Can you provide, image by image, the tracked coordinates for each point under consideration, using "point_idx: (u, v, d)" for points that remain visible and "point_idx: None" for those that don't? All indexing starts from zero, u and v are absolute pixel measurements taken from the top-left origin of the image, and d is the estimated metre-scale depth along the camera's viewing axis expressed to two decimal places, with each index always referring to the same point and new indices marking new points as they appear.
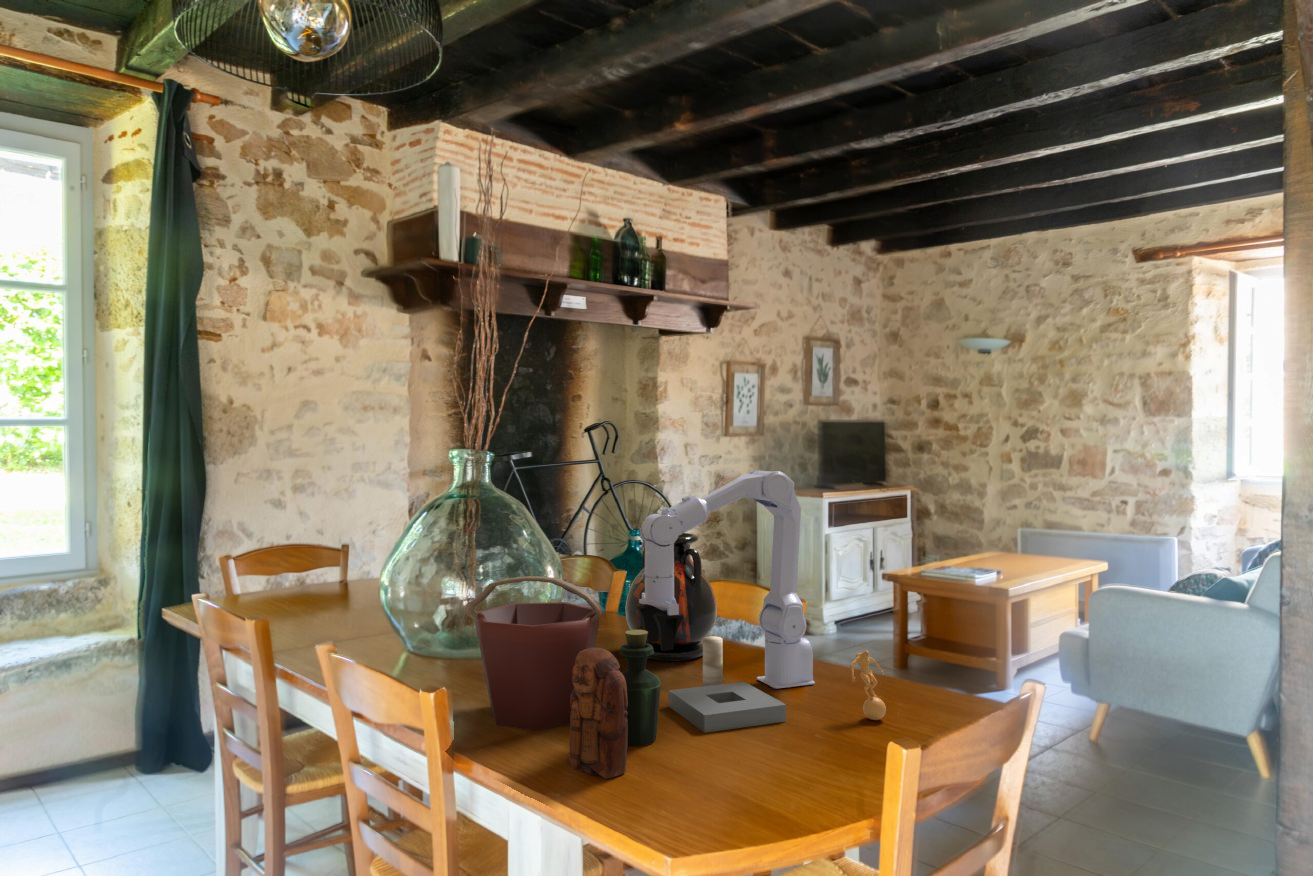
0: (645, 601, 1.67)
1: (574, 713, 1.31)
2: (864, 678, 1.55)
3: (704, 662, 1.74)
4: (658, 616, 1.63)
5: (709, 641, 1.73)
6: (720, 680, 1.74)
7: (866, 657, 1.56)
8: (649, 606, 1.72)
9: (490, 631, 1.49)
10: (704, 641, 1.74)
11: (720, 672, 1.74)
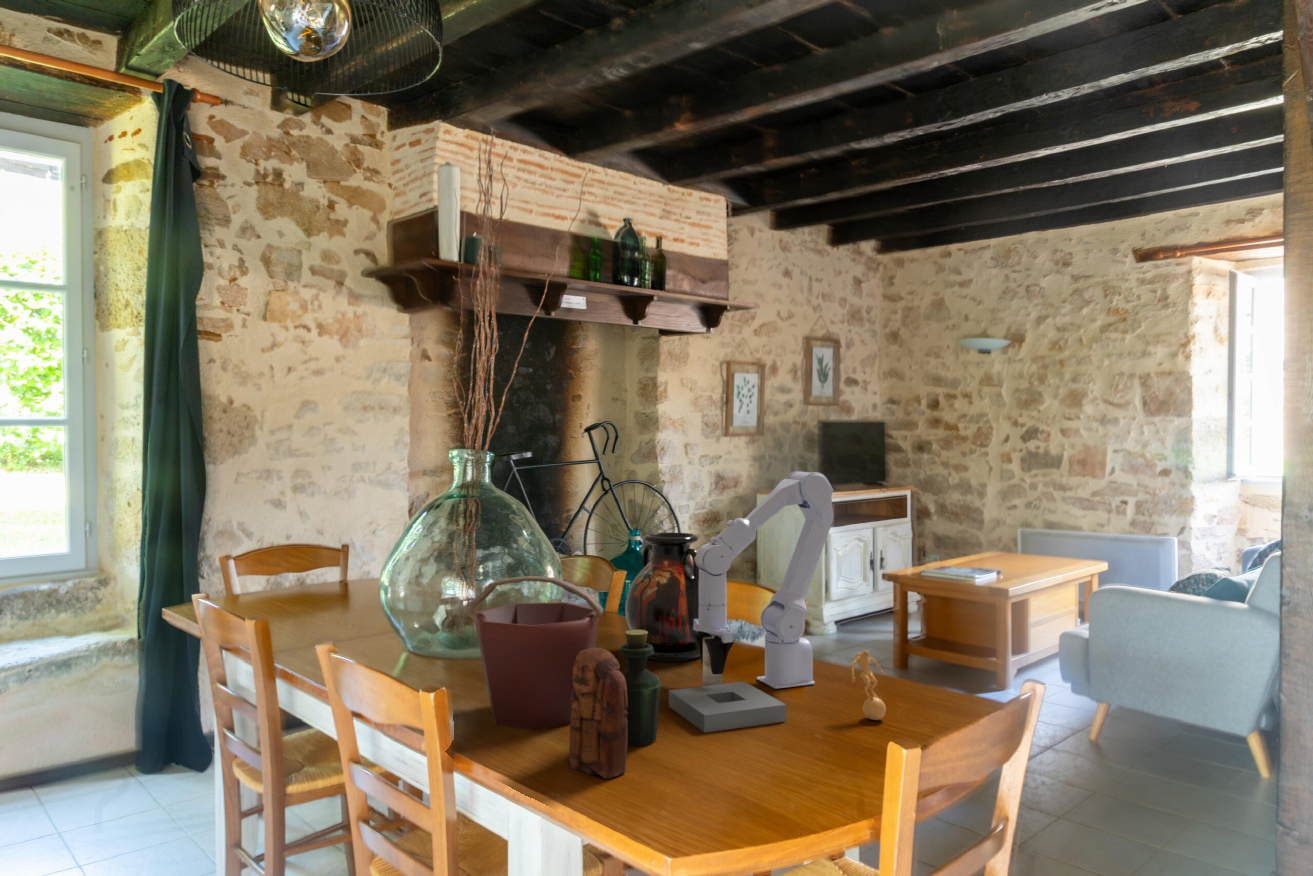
0: (699, 628, 1.73)
1: (574, 713, 1.31)
2: (864, 678, 1.55)
3: (704, 662, 1.74)
4: (710, 642, 1.70)
5: None
6: (720, 680, 1.74)
7: (866, 657, 1.56)
8: (705, 634, 1.77)
9: (490, 631, 1.49)
10: (704, 641, 1.74)
11: None
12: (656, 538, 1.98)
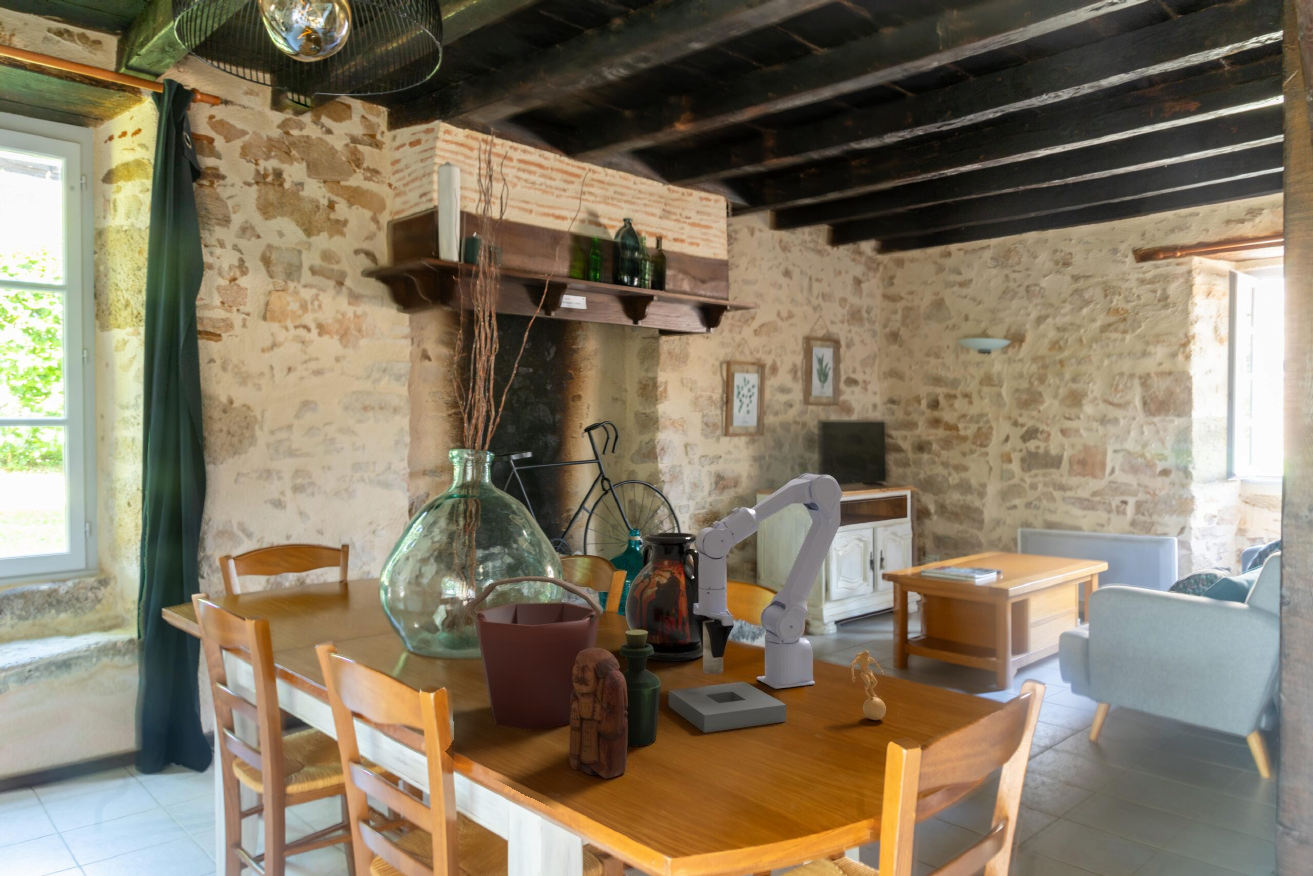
0: (699, 612, 1.73)
1: (574, 713, 1.31)
2: (864, 678, 1.55)
3: (704, 646, 1.74)
4: (710, 625, 1.70)
5: None
6: (720, 664, 1.74)
7: (866, 657, 1.56)
8: (705, 618, 1.77)
9: (490, 631, 1.49)
10: (704, 625, 1.74)
11: None
12: (656, 538, 1.98)
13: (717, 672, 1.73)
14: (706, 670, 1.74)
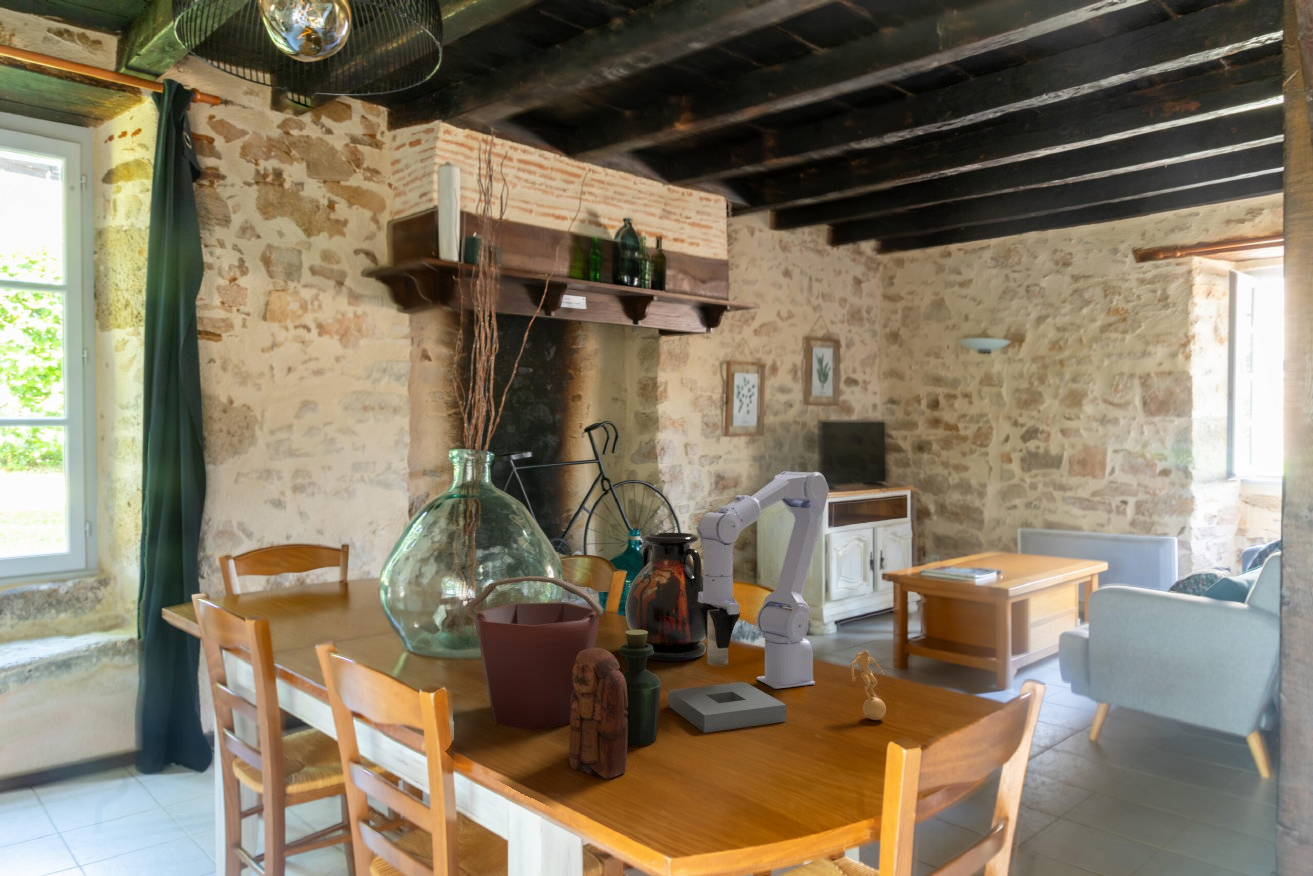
0: (704, 600, 1.65)
1: (574, 713, 1.31)
2: (864, 678, 1.55)
3: (709, 636, 1.66)
4: (715, 614, 1.62)
5: None
6: (725, 655, 1.66)
7: (866, 657, 1.56)
8: (710, 607, 1.69)
9: (490, 631, 1.49)
10: (709, 614, 1.66)
11: None
12: (656, 538, 1.98)
13: (722, 663, 1.65)
14: (710, 661, 1.66)
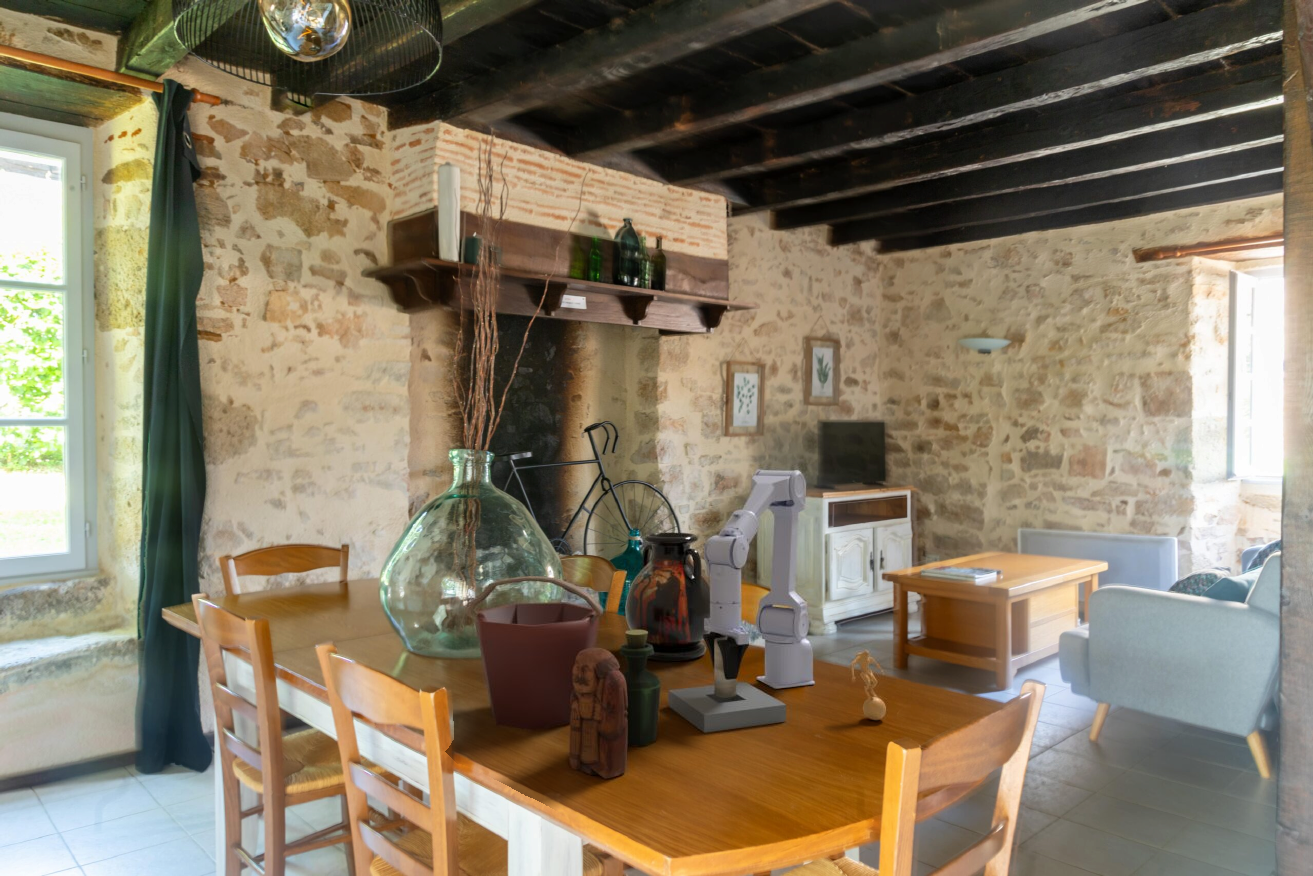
0: (711, 628, 1.56)
1: (574, 713, 1.31)
2: (864, 678, 1.55)
3: (716, 666, 1.57)
4: (723, 643, 1.54)
5: None
6: (734, 686, 1.57)
7: (866, 657, 1.56)
8: (717, 635, 1.60)
9: (490, 631, 1.49)
10: (716, 642, 1.57)
11: None
12: (656, 538, 1.98)
13: (730, 695, 1.57)
14: (718, 693, 1.57)
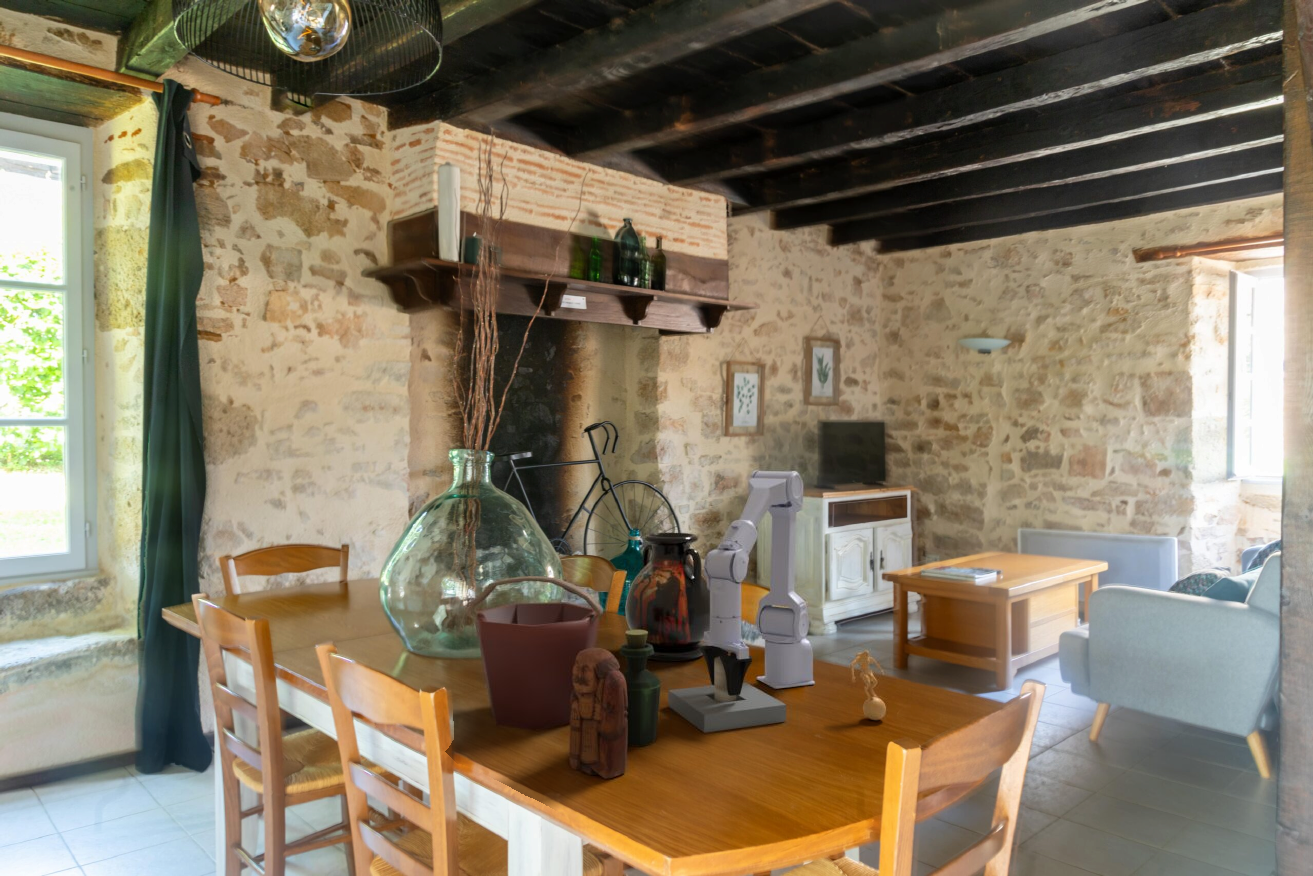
0: (711, 643, 1.56)
1: (574, 713, 1.31)
2: (864, 678, 1.55)
3: (716, 685, 1.57)
4: (726, 659, 1.52)
5: None
6: None
7: (866, 657, 1.56)
8: (714, 647, 1.61)
9: (490, 631, 1.49)
10: (716, 662, 1.57)
11: (734, 696, 1.57)
12: (656, 538, 1.98)
13: None
14: None
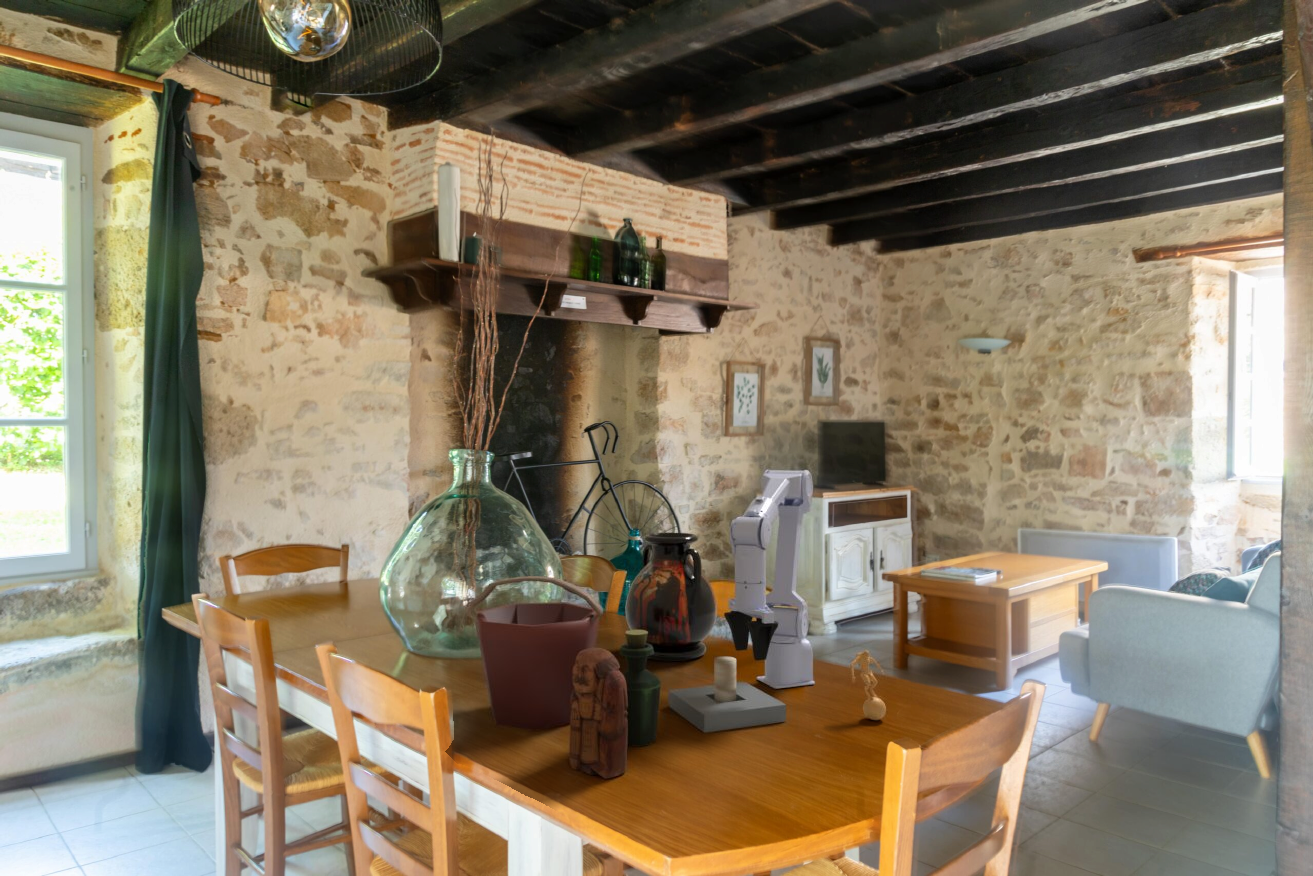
0: (736, 608, 1.58)
1: (574, 713, 1.31)
2: (864, 678, 1.55)
3: (716, 685, 1.57)
4: (752, 624, 1.54)
5: (722, 662, 1.57)
6: None
7: (866, 657, 1.56)
8: (738, 613, 1.64)
9: (490, 631, 1.49)
10: (716, 662, 1.57)
11: (734, 696, 1.57)
12: (656, 538, 1.98)
13: None
14: None
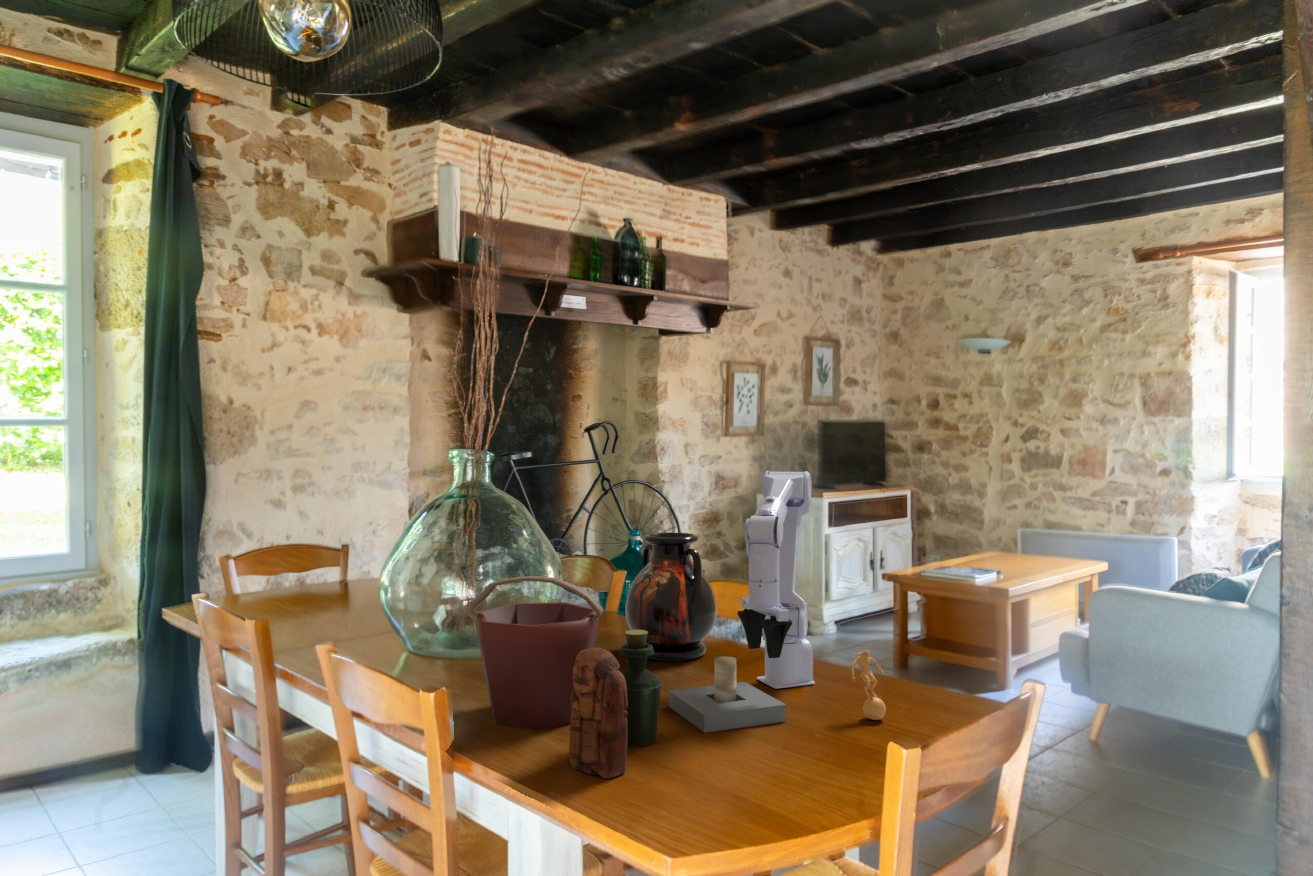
0: (750, 606, 1.59)
1: (574, 713, 1.31)
2: (864, 678, 1.55)
3: (716, 685, 1.57)
4: (767, 622, 1.55)
5: (722, 662, 1.57)
6: None
7: (866, 657, 1.56)
8: (751, 611, 1.65)
9: (490, 631, 1.49)
10: (716, 662, 1.57)
11: (734, 696, 1.57)
12: (656, 538, 1.98)
13: None
14: None
